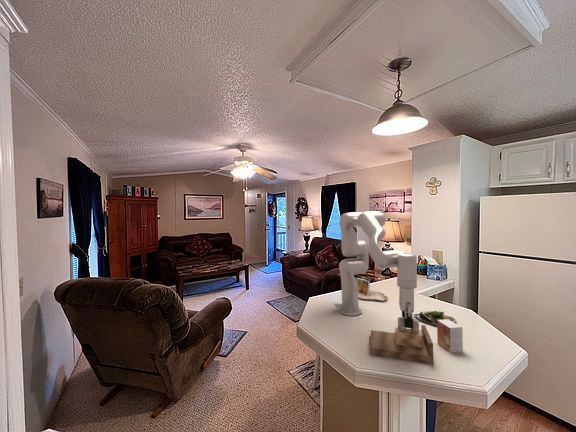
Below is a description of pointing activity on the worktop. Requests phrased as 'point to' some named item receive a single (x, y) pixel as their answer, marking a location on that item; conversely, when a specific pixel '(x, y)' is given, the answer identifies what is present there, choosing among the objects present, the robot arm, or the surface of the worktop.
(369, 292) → the religious ornament
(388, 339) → the walnut shelf
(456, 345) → the small box
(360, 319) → the worktop surface
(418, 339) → the salt and pepper set
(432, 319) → the salad plate
